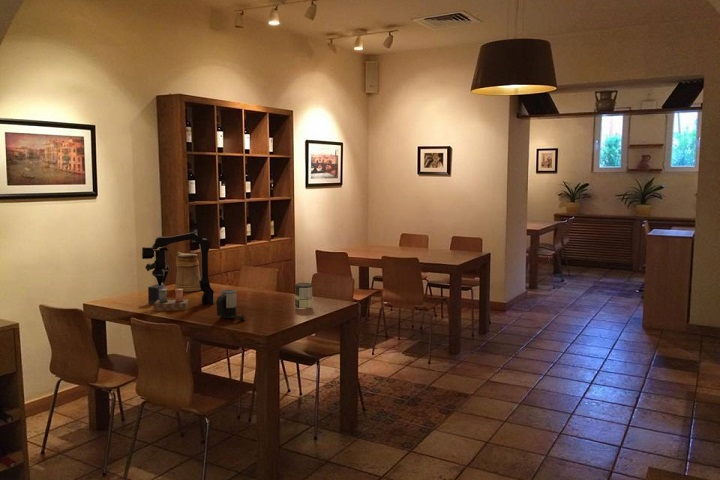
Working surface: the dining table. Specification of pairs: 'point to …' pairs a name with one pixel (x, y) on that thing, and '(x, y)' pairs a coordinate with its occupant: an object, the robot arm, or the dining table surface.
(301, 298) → the coffee can
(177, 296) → the brick plug
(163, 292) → the grey plug
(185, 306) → the socket block
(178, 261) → the tankard
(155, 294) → the small box
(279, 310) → the dining table surface
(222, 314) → the milk frother
